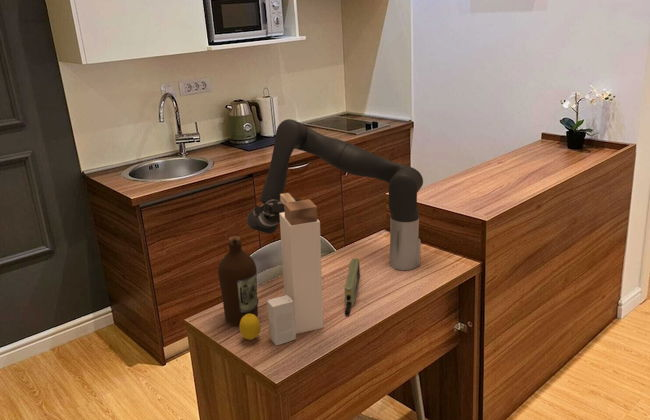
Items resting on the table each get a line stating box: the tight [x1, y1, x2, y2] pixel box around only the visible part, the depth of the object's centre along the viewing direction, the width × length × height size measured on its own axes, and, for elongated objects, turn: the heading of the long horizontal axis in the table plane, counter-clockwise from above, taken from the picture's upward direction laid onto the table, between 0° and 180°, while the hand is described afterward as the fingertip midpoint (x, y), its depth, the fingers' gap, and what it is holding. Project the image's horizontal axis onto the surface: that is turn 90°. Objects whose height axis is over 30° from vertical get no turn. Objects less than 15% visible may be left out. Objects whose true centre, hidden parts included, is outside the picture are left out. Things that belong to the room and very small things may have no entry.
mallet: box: [280, 192, 318, 225], centre depth 155 cm, size 7×18×4 cm, turn 20°
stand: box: [279, 212, 324, 335], centre depth 158 cm, size 8×10×32 cm
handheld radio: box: [344, 257, 361, 316], centre depth 176 cm, size 7×3×25 cm
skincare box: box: [266, 295, 297, 346], centre depth 154 cm, size 6×4×12 cm
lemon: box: [239, 314, 261, 341], centre depth 155 cm, size 6×6×8 cm
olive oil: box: [217, 235, 259, 327], centre depth 162 cm, size 11×11×25 cm
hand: (282, 203), depth 167 cm, fingers open, 8 cm apart
